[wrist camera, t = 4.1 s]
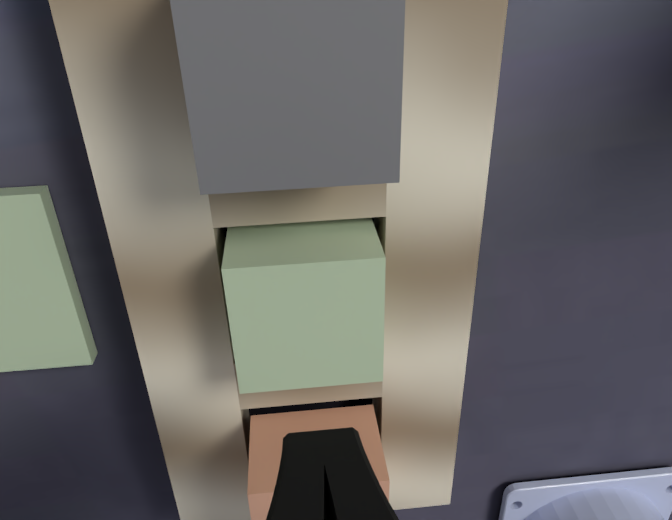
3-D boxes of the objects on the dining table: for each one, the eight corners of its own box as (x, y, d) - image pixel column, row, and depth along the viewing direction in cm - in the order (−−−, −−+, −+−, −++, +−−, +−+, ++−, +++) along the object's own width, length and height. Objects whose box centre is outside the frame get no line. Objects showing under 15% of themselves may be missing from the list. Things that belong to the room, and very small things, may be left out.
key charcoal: (375, 137, 14) (399, 182, 11) (213, 146, 14) (200, 194, 11) (377, -45, 12) (406, -41, 9) (188, -39, 12) (164, -32, 9)
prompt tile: (97, 352, 19) (92, 364, 18) (-28, 362, 19) (-36, 375, 18) (47, 185, 16) (40, 193, 15) (-103, 194, 16) (-115, 203, 15)
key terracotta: (372, 485, 21) (386, 565, 18) (261, 497, 20) (260, 579, 18) (372, 404, 19) (389, 480, 16) (250, 415, 18) (247, 494, 16)
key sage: (367, 319, 18) (383, 381, 16) (243, 329, 18) (239, 393, 16) (367, 207, 16) (385, 257, 14) (229, 216, 16) (221, 269, 14)
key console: (436, 462, 23) (449, 504, 22) (190, 486, 22) (183, 532, 21) (490, -124, 13) (523, -133, 12) (51, -115, 13) (17, -122, 11)
